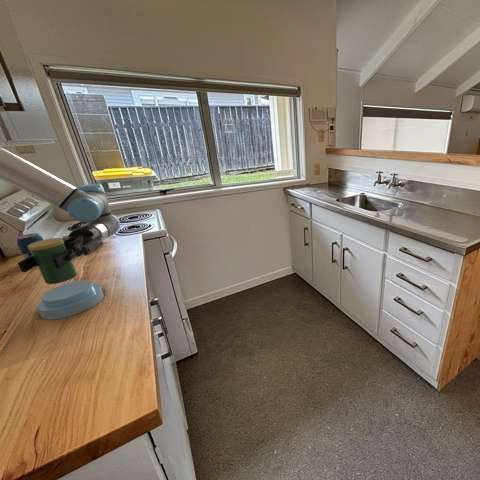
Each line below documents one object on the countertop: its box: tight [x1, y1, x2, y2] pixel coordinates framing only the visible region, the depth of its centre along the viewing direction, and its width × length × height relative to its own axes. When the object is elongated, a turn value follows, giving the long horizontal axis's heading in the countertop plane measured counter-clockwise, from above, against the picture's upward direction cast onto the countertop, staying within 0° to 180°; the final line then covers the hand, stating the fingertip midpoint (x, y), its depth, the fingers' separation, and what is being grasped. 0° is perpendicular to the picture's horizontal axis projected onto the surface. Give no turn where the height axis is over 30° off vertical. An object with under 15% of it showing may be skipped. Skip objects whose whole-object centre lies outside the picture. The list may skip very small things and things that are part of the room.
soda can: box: [16, 232, 44, 259], centre depth 102 cm, size 7×7×12 cm
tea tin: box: [28, 237, 78, 285], centre depth 71 cm, size 7×7×11 cm
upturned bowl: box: [36, 279, 105, 321], centre depth 75 cm, size 14×14×5 cm
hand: (39, 265), depth 66 cm, fingers closed on tea tin, 7 cm apart
